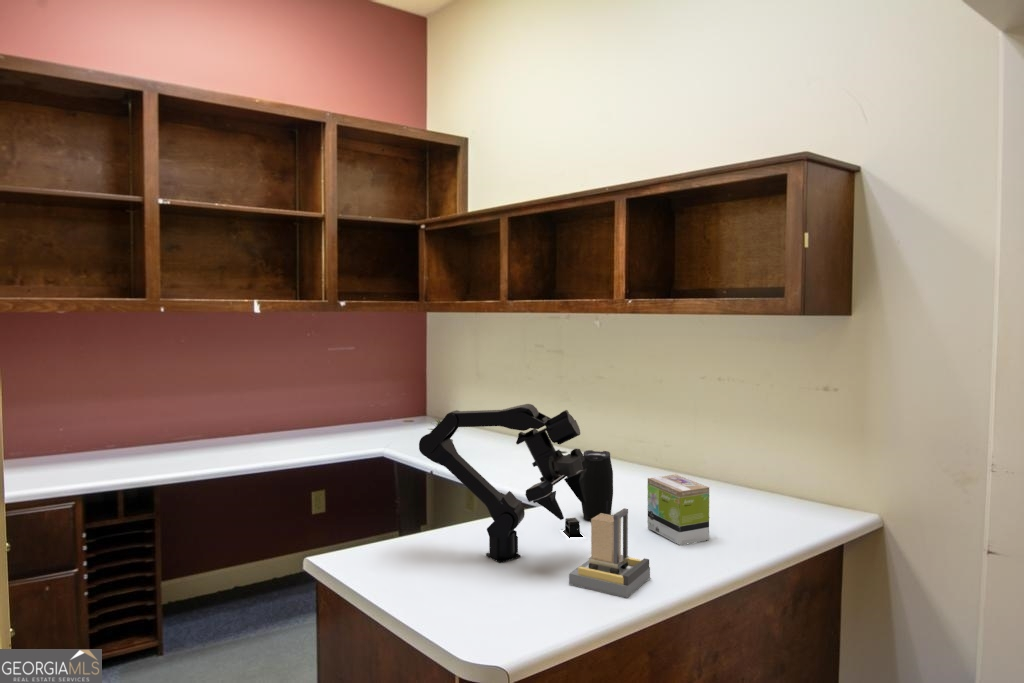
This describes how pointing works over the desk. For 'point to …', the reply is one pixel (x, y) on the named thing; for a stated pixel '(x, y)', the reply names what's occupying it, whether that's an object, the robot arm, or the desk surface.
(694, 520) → the tea box
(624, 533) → the trolley
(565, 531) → the build plate
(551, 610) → the desk surface
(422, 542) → the desk surface
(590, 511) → the portable speaker
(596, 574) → the dock
